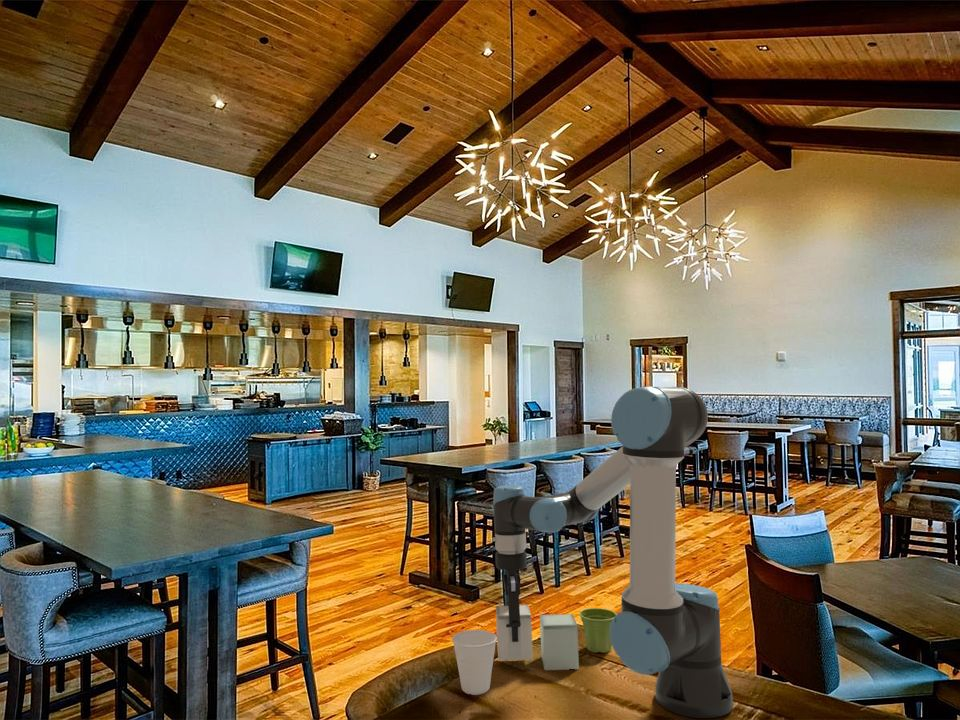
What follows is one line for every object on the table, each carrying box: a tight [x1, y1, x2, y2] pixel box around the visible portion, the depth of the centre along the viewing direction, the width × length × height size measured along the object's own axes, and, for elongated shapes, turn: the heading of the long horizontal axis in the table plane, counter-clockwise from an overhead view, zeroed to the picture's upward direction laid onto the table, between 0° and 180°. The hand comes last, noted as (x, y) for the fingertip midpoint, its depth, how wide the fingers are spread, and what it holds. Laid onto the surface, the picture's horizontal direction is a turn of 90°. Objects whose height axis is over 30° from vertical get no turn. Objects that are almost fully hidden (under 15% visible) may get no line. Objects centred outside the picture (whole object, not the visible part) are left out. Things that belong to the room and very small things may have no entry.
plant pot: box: [578, 607, 618, 654], centre depth 159 cm, size 9×9×9 cm
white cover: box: [495, 604, 534, 662], centre depth 151 cm, size 8×8×10 cm
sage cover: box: [539, 613, 580, 671], centre depth 151 cm, size 8×8×10 cm
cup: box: [451, 629, 497, 696], centre depth 138 cm, size 10×10×11 cm
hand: (514, 647), depth 151 cm, fingers closed on white cover, 8 cm apart
